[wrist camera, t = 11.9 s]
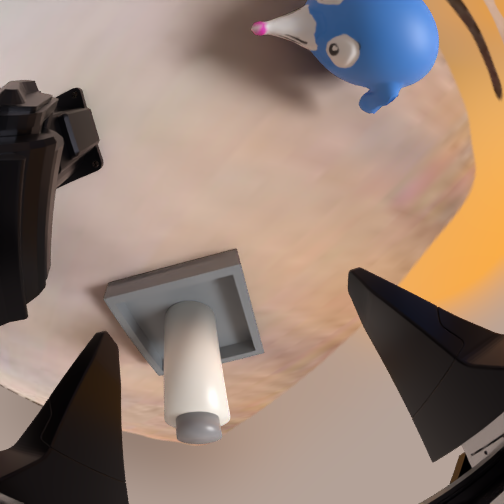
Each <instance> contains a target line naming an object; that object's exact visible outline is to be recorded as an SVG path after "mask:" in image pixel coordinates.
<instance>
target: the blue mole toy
mask: <svg viewBox="0 0 504 504" xmlns="http://www.w3.org/2000/svg"><path fill="white" fill-rule="evenodd" d="M251 31H252V32H253V33H254V34H255V35H260V36H262V35H273V36H277V37H280V38H284V39H287V40H289V41H292V42H294V43H296V44H298V45H300V46H302V47H304V48H306V49H309V50H310V51H311V52H312V53H313V55H314V56H315V57H316V58H317V59H318V61H319V62H320V63H321V64H322V65H323V66H324V67H325V68H326V69H328V70H329V71H330V72H331V73H333V74H334V75H335V76H337V77H339V78H340V79H342V80H344V81H346V82H349V83H351V84H354V85H359V86H363V87H366V88H368V89H370V90H369V91H368V92H367V93H365V94H364V95H363V96H362V97H361V99H360V101H359V106H360V108H361V109H362V110H363V111H365V112H367V113H373V114H374V113H375V112H376V111H377V110H379V109H380V108H381V107H382V106H385V105H388V104H389V103H390V102H392V101H393V100H394V99H395V98H396V97H397V96H398V93H399V91H400V89H401V88H402V87H406V86H409V85H411V84H414V83H416V82H417V81H419V80H420V79H422V78H423V77H424V76H425V75H426V74H427V73H428V72H429V71H430V70H431V68H432V67H433V65H434V63H435V60H436V57H437V54H438V47H439V37H438V30H437V27H436V23H435V21H434V18H433V16H432V14H431V12H430V11H429V9H428V7H427V6H426V5H425V3H424V2H423V1H422V0H307V2H306V4H305V6H304V7H302V8H300V9H297V10H295V11H293V12H290V13H288V14H286V15H283V16H281V17H278V18H275V19H273V20H270V21H266V22H261V21H259V22H255V23H254V24H253V26H252V28H251Z"/></svg>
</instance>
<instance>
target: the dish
mask: <svg viewBox="0 0 504 504" xmlns="http://www.w3.org/2000/svg"><path fill="white" fill-rule="evenodd" d="M104 301H105V302H106V304H107V306H108V307H109V309H110V310H111V312H112V313H113V315H114V316H115V318H116V319H117V321H118V322H119V324H120V325H121V326H122V328H123V329H124V331H125V332H126V334H127V335H128V336H129V338H130V339H131V341H132V342H133V343H134V345H135V346H136V347H137V349H138V350H139V351H140V353H141V354H142V355H143V357H144V358H145V359H146V360H147V362H148V363H149V364H150V366H151V367H152V368H153V369H154V370H155V372H156V373H157V374H158V375H159V376H160V375H164V335H165V315H166V313H167V311H168V309H169V308H170V307H172V306H173V305H175V304H177V303H179V302H183V301H196V302H200V303H203V304H205V305H207V306H208V307H210V308H211V309H212V311H213V312H214V315H215V321H216V329H217V336H218V343H219V350H220V357H221V363H226V362H230V361H234V360H239V359H243V358H247V357H251V356H254V355H258V354H262V353H264V350H263V346H262V342H261V339H260V335H259V331H258V327H257V324H256V320H255V316H254V312H253V309H252V305H251V301H250V297H249V293H248V290H247V286H246V282H245V278H244V274H243V270H242V267H241V263H240V259H239V255H238V252H237V249H234V250H230V251H226V252H223V253H219V254H215V255H211V256H207V257H204V258H200V259H196V260H192V261H188V262H185V263H181V264H177V265H173V266H170V267H166V268H162V269H158V270H155V271H151V272H147V273H143V274H140V275H136V276H132V277H129V278H125V279H121V280H117V281H114V282H110V283H108V286H107V289H106V292H105V295H104Z"/></svg>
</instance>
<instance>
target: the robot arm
mask: <svg viewBox="0 0 504 504" xmlns="http://www.w3.org/2000/svg"><path fill="white" fill-rule="evenodd" d="M74 92H77V93H78V95H77V97H76V98H75V97H74ZM98 142H99V136H98V133H97V130H96V126H95V123H94V120H93V116H92V112H91V109H89V108H87V106H86V103H85V99H84V95H83V91H82V89H80V88H73V89H71V90H69V91H67V92H65V93H63V94H61V95H60V96H58V97H56V98H53V97H52V95H49V94H44V93H41V91H38V88H37V86H36V83H35V81H31V80H19V81H10V82H8V83H7V84H6V85H5V86H4V87H2V88H0V326H1V325H4V324H6V323H8V322H12V321H18V320H24V319H26V318H27V317H28V312H27V306H26V304H27V303H29V302H30V301H31V300H33V299H34V298H35V297H37V296H38V295H39V294H40V293H41V292H42V290H43V289H44V288H45V286H46V279H47V277H48V273H49V269H50V266H51V234H52V220H53V209H54V200H55V192H56V189H57V188H59V187H61V186H63V185H65V184H67V183H70V182H72V181H74V180H76V179H79V178H81V177H83V176H86V175H88V174H91V173H93V172H95V171H98V170H99V169H101V168H102V166H103V159H102V156H101V153H100V150H99V147H98ZM94 161H97V162H98V163H99V165H98V166H95V164H94ZM348 292H349V295H350V297H351V299H352V301H353V304H354V306H355V308H356V310H357V313H358V315H359V317H360V320H361V322H362V324H363V327H364V328H365V330H366V332H367V334H368V336H369V337H370V339H371V341H372V343H373V345H374V346H375V348H376V350H377V352H378V354H379V355H380V357H381V359H382V361H383V363H384V365H385V367H386V368H387V370H388V372H389V374H390V376H391V378H392V380H393V382H394V383H395V385H396V387H397V389H398V391H399V393H400V395H401V397H402V399H403V401H404V403H405V405H406V407H407V409H408V411H409V413H410V415H411V417H412V420H413V422H414V424H415V426H416V428H417V430H418V432H419V434H420V436H421V438H422V441H423V443H424V445H425V447H426V449H427V451H428V454H429V456H430V458H431V460H432V462H435V461H437V460H438V459H440V458H442V457H443V456H445V455H446V454H448V453H450V452H451V451H453V450H454V449H456V448H457V447H459V446H460V445H462V447H463V449H464V451H465V452H464V453H462V454H461V455H460V456H459V459H458V461H457V464H456V467H455V470H454V473H453V476H452V479H451V481H450V485H448V486H447V487H445V488H444V489H442V490H441V491H439V492H438V493H436V494H434V495H433V496H431V497H429V498H428V499H426V500H424V501H423V502H421V503H419V504H504V334H498V333H495V332H492V331H490V330H488V329H485V328H483V327H481V326H478V325H476V324H473V323H471V322H469V321H467V320H464V319H462V318H460V317H458V316H456V315H453V314H452V313H449V312H448V311H445V310H443V309H442V308H440V307H437V306H436V305H434V304H432V303H430V302H428V301H426V300H424V299H422V298H420V297H418V296H417V295H414V294H413V293H411V292H409V291H407V290H405V289H403V288H401V287H399V286H397V285H395V284H393V283H391V282H389V281H387V280H385V279H383V278H381V277H379V276H377V275H375V274H373V273H371V272H369V271H367V270H364V269H362V268H360V267H359V268H355V269H352V270H350V271H349V274H348ZM125 482H126V480H125V471H124V460H123V448H122V427H121V378H120V365H119V350H118V346H117V344H116V343H115V342H114V340H113V339H112V338H111V336H110V335H109V334H108V332H106V331H102V332H98V333H96V334H95V335H94V336H93V338H92V339H91V340H90V342H89V343H88V344H87V346H86V347H85V348H84V350H83V351H82V352H81V354H80V355H79V356H78V358H77V359H76V360H75V362H74V363H73V364H72V366H71V367H70V369H69V370H68V371H67V373H66V374H65V375H64V377H63V378H62V380H61V381H60V383H59V384H58V385H57V387H56V388H55V390H54V391H53V393H52V394H51V396H50V397H49V399H48V400H47V401H46V403H45V404H44V406H43V407H42V409H41V410H40V412H39V413H38V415H37V416H36V417H35V419H34V420H33V421H32V423H31V424H30V425H29V427H28V428H27V430H26V431H25V432H24V433H23V435H22V436H21V438H20V439H19V440H18V441H17V443H16V444H15V445H14V446H12V447H11V448H9V449H6V450H3V451H0V504H129V503H128V495H127V488H126V483H125Z"/></svg>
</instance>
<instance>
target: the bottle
mask: <svg viewBox="0 0 504 504" xmlns="http://www.w3.org/2000/svg"><path fill="white" fill-rule="evenodd" d="M164 418H165V422H166V423H167V424H169V425H170V426H172V427H175V428H176V434H177V439H178V440H179V441H181V442H184V443H189V444H207V443H212V442H215V441H218V440H220V439H221V438H222V432H221V426H222V425H224V424H226V423H227V422H228V421H229V420H230V413H229V407H228V401H227V395H226V389H225V383H224V377H223V370H222V364H221V357H220V350H219V343H218V336H217V329H216V321H215V315H214V312H213V311H212V309H211V308H210V307H208V306H207V305H205V304H203V303H200V302H196V301H183V302H179V303H177V304H175V305H173V306H172V307H170V308H169V309H168V311H167V313H166V315H165V335H164Z"/></svg>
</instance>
